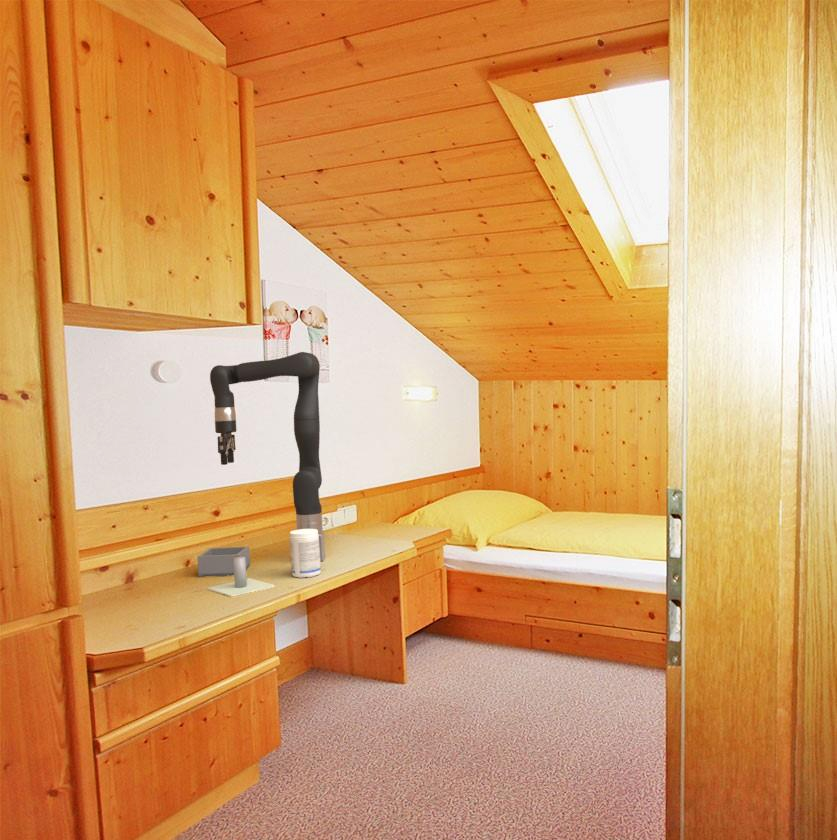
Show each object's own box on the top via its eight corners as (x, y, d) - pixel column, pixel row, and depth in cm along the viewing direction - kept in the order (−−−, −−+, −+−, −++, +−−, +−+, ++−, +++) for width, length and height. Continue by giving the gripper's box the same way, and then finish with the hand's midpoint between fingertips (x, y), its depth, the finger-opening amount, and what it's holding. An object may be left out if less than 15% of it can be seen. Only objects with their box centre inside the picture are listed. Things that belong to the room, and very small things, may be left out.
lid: (249, 581, 236) (247, 550, 235) (274, 588, 225) (273, 556, 225) (207, 591, 225) (205, 559, 225) (231, 598, 214) (229, 565, 214)
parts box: (250, 566, 256) (249, 546, 256) (239, 575, 242) (238, 554, 242) (211, 567, 256) (210, 548, 256) (198, 577, 242) (197, 556, 242)
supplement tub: (326, 572, 241) (324, 528, 241) (311, 579, 232) (309, 534, 232) (301, 570, 245) (299, 527, 245) (285, 577, 236) (283, 533, 236)
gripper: (230, 419, 258) (232, 464, 258) (240, 418, 272) (242, 461, 272) (209, 420, 258) (211, 465, 258) (220, 419, 272) (223, 462, 273)
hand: (227, 463), depth 265 cm, fingers open, 8 cm apart
